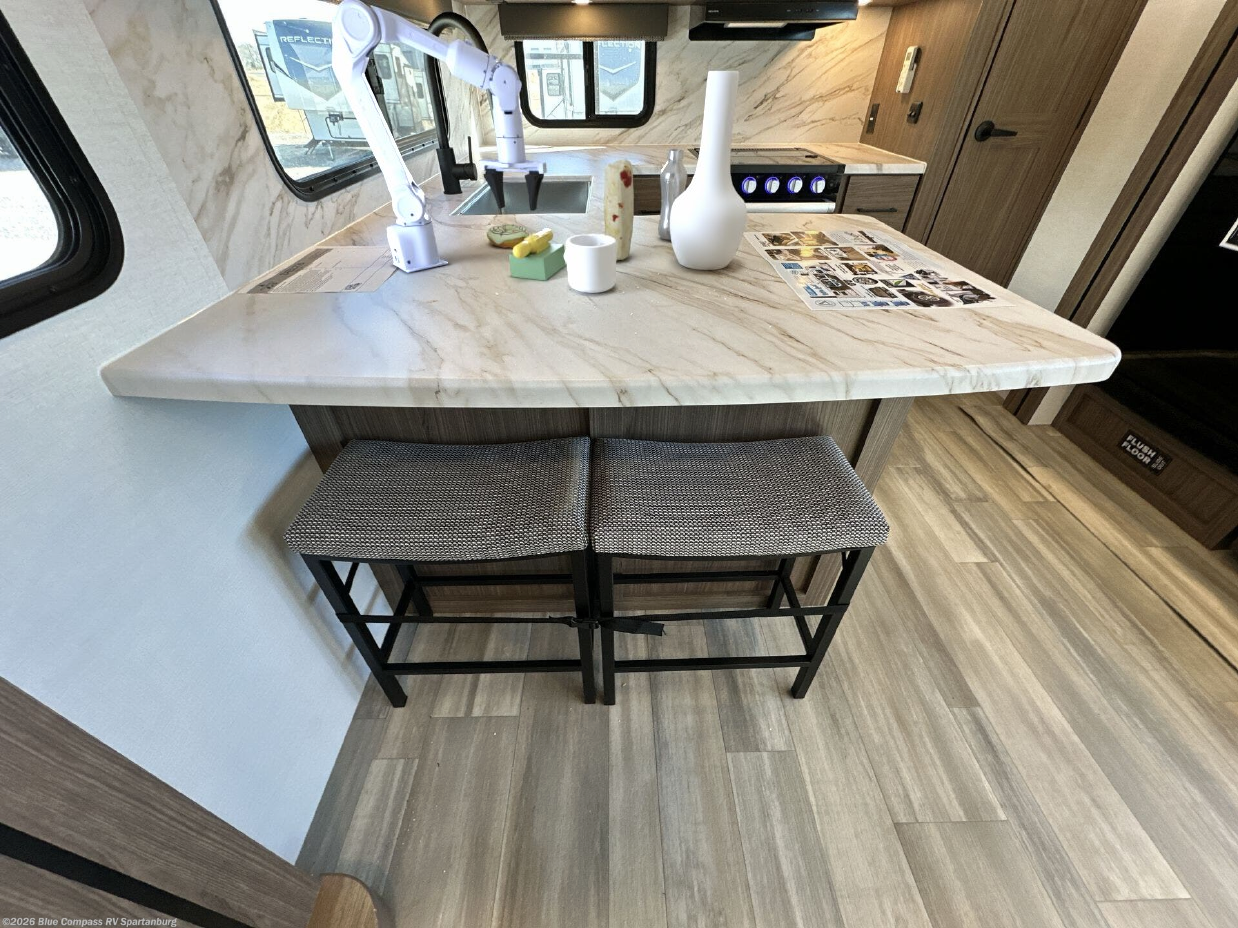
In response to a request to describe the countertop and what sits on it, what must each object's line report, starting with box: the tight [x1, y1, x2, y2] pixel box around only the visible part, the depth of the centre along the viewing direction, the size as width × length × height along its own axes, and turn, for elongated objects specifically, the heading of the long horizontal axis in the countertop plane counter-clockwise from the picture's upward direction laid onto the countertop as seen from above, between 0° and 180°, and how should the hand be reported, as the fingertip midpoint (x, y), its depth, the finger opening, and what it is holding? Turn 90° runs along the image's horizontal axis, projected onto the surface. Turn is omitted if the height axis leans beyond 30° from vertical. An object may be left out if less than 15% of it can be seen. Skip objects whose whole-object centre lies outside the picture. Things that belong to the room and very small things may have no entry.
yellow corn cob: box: [512, 228, 554, 258], centre depth 107 cm, size 16×4×3 cm, turn 162°
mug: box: [564, 233, 617, 294], centre depth 101 cm, size 12×10×9 cm
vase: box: [670, 70, 748, 271], centre depth 106 cm, size 17×17×35 cm
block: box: [508, 242, 566, 281], centre depth 110 cm, size 11×8×4 cm
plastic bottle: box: [657, 148, 688, 241], centre depth 126 cm, size 6×7×20 cm
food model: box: [603, 158, 635, 261], centre depth 113 cm, size 10×7×20 cm
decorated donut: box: [486, 223, 531, 249], centre depth 127 cm, size 10×11×4 cm
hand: (517, 209), depth 113 cm, fingers open, 7 cm apart
